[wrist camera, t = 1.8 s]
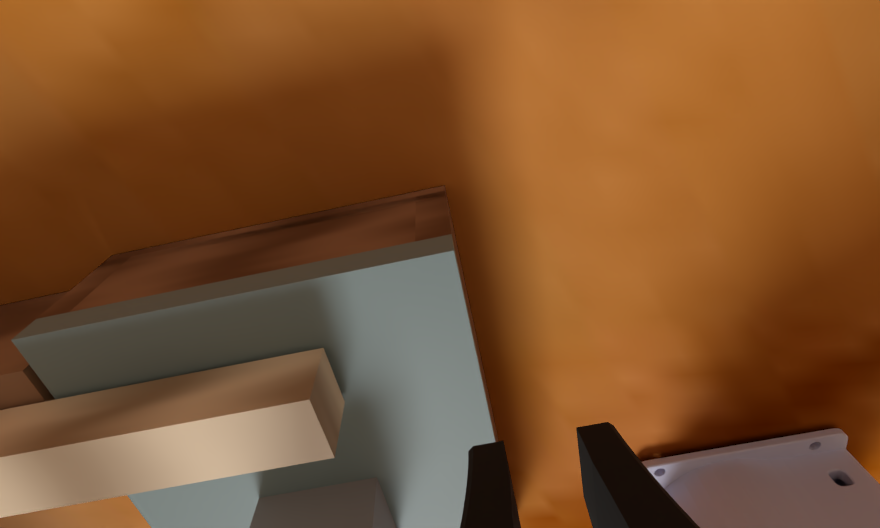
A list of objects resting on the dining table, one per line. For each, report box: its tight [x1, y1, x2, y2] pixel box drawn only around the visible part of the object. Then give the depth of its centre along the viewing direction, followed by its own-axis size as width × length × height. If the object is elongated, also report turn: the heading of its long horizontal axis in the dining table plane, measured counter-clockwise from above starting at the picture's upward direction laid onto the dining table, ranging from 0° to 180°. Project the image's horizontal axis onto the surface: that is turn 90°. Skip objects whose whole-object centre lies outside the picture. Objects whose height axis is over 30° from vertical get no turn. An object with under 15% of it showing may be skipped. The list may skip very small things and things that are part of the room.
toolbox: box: [0, 186, 499, 442], centre depth 20 cm, size 21×18×5 cm
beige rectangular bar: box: [0, 348, 345, 518], centre depth 14 cm, size 12×2×2 cm, turn 102°
